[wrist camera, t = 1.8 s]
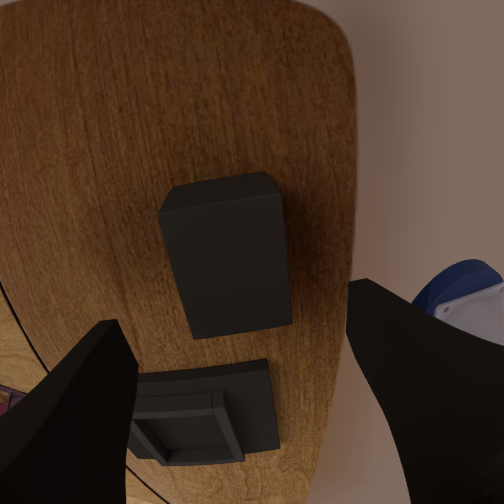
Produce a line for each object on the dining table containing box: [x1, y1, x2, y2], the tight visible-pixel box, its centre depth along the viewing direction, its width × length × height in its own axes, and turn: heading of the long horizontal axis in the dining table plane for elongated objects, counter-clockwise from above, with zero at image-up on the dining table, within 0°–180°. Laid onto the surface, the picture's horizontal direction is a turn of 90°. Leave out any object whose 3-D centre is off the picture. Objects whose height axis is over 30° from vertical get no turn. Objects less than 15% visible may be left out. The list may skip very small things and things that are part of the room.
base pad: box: [127, 359, 280, 466], centre depth 21 cm, size 14×12×2 cm
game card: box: [0, 386, 27, 416], centre depth 18 cm, size 7×5×9 cm
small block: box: [158, 172, 293, 340], centre depth 14 cm, size 4×6×4 cm
